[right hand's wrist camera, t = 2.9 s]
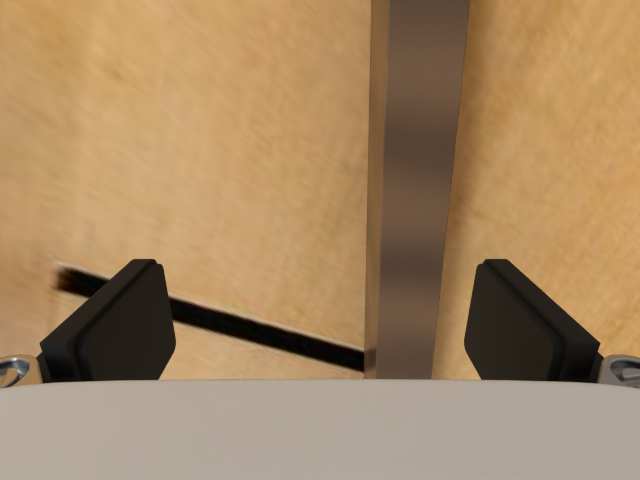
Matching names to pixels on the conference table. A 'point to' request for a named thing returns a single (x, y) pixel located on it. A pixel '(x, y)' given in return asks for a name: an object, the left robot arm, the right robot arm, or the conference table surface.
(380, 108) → the bar
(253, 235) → the conference table surface
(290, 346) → the conference table surface
